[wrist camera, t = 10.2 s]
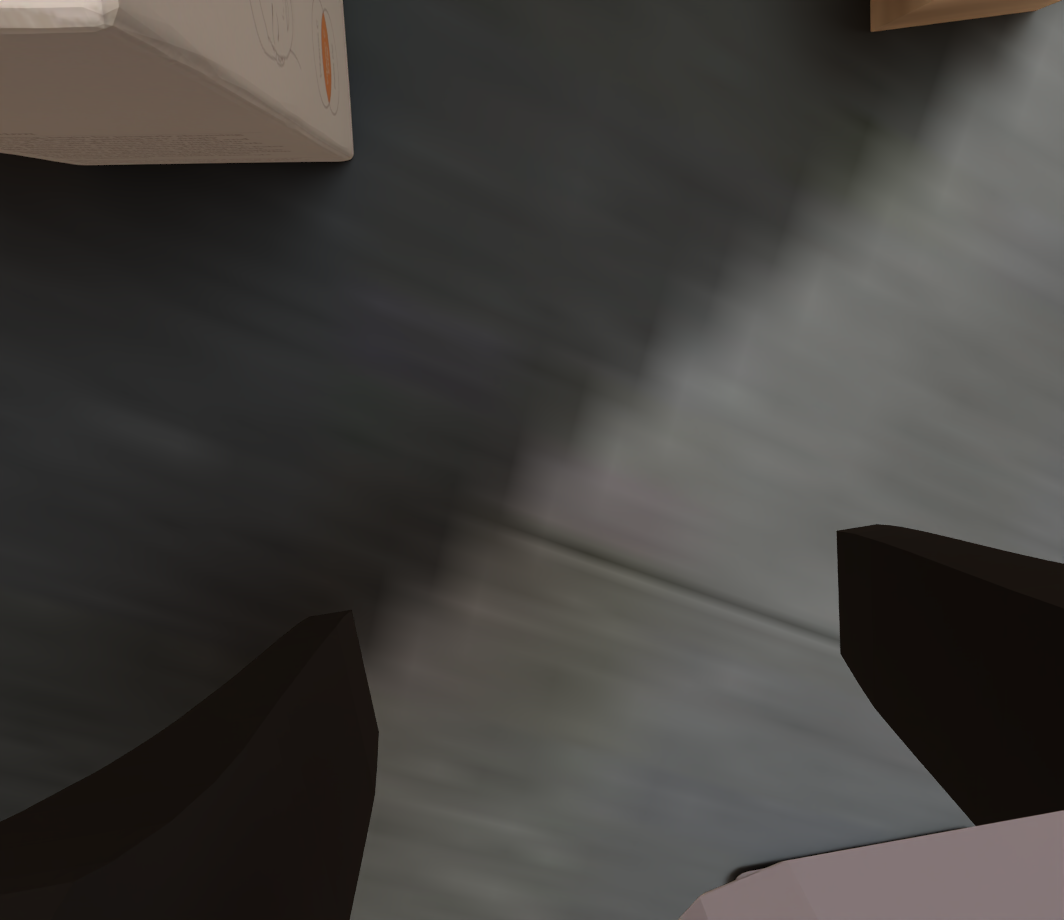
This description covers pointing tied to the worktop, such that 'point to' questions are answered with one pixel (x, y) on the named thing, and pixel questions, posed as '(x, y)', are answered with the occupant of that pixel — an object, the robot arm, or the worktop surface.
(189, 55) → the small box
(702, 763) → the worktop surface
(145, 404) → the worktop surface
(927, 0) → the light oak brick
